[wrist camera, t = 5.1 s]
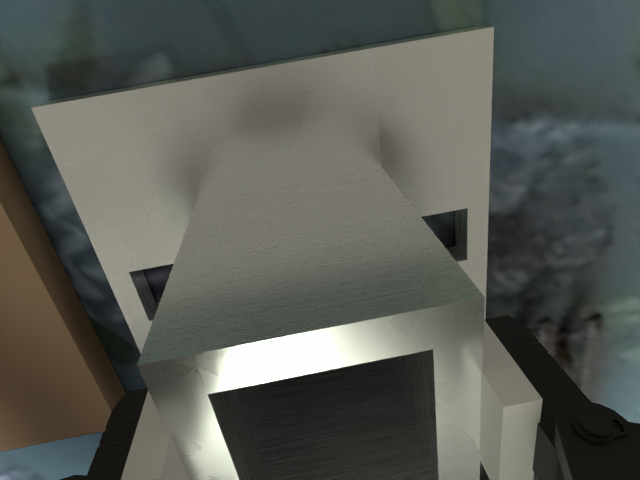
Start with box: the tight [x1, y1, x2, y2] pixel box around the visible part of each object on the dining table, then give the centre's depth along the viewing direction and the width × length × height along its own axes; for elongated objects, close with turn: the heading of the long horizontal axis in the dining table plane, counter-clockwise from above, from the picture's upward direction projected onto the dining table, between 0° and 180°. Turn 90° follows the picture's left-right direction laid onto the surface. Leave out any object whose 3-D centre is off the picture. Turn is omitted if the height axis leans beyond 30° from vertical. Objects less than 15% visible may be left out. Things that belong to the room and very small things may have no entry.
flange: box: [31, 26, 494, 480], centre depth 13 cm, size 14×14×9 cm
